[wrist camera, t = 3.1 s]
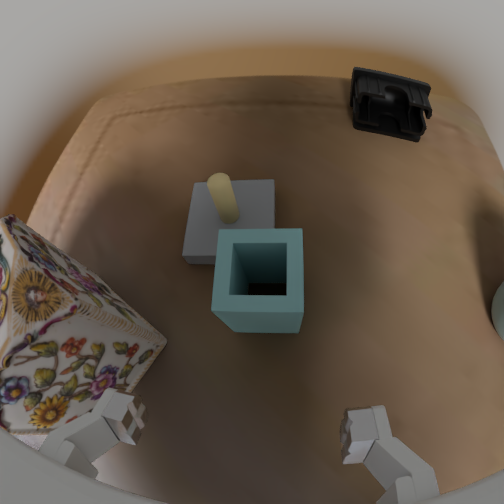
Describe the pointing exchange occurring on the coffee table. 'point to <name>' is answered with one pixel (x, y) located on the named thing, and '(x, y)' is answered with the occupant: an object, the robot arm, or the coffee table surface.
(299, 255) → the collar
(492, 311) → the cup
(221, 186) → the shaft block
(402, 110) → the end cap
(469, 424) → the coffee table surface
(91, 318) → the decorative jar
